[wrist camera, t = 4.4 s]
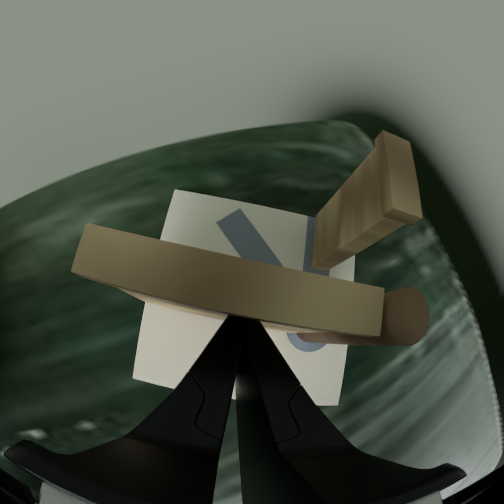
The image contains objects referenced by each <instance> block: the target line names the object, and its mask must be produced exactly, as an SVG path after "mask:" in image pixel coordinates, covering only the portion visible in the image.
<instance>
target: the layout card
mask: <svg viewBox="0 0 504 504" xmlns="http://www.w3.org/2000/svg"><path fill="white" fill-rule="evenodd" d="M314 229H315V217H311V216H305V215H301V214H297V213H292V212H288V211H283V210H279V209H274V208H270V207H265V206H260V205H255V204H251V203H246V202H241V201H236V200H231V199H226V198H220V197H215V196H210V195H204V194H199V193H193V192H187V191H182V190H176V189H175V190H174V194H173V197H172V200H171V203H170V207H169V210H168V214H167V217H166V221H165V224H164V228H163V231H162V235H161V239H160V240H163V241H168V242H172V243H177V244H181V245H186V246H190V247H195V248H199V249H204V250H208V251H213V252H217V253H222V254H226V255H231V256H235V257H240V258H244V259H249V260H254V261H258V262H263V263H267V264H272V265H277V266H281V267H286V268H291V269H295V270H300V271H305V272H309V273H314V274H319V275H324V276H328V277H333V278H338V279H343V280H347V281H352V282H354V266H355V255H354V256H352V257H350V258H348V259H347V260H345V261H343V262H342V263H340V264H338V265H336V266H335V267H333V268H331V269H329V270H327V271H322V270H317V269H311V264H312V253H313V241H314ZM223 321H224V320H219V319H214V318H210V317H205V316H200V315H196V314H192V313H187V312H183V311H179V310H175V309H171V308H167V307H163V306H159V305H155V304H151V303H147V302H145V307H144V312H143V317H142V323H141V328H140V334H139V340H138V346H137V352H136V358H135V365H134V373H133V378H134V379H137V380H141V381H145V382H148V383H152V384H156V385H161V386H165V387H169V388H174V389H175V388H176V386H177V385H178V384H179V383H180V381H181V380H182V379H183V377H184V376H185V375H186V373H187V372H188V371H189V369H190V368H191V367H192V365H193V364H194V362H195V361H196V360H197V358H198V357H199V355H200V354H201V353H202V351H203V350H204V348H205V347H206V345H207V344H208V343H209V341H210V340H211V338H212V337H213V336H214V334H215V333H216V331H217V330H218V329H219V327H220V326H221V324H222V323H223ZM265 330H266V331H267V333H268V334H269V336H270V337H271V339H272V340H273V342H274V343H275V345H276V347H277V348H278V350H279V351H280V353H281V354H282V356H283V357H284V359H285V360H286V362H287V363H288V365H289V366H290V368H291V369H292V371H293V372H294V374H295V375H296V377H297V378H298V380H299V381H300V383H301V385H302V386H303V387H304V389H305V390H306V392H307V393H308V394H309V396H310V397H311V399H312V400H313V401H314V403H315V404H316V405H338V403H339V397H340V392H341V386H342V380H343V374H344V368H345V361H346V354H347V346H348V345H345V344H326V343H311V342H304V341H302V340H301V339H300V338H299V337H298V336H297V334H296V333H289V332H283V331H277V330H271V329H266V328H265ZM232 399H236V392H235V384H234V389H233V394H232Z"/></svg>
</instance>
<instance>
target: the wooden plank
mask: <svg viewBox="0 0 504 504" xmlns="http://www.w3.org/2000/svg"><path fill="white" fill-rule="evenodd" d="M421 219H422V210H421V202H420V195H419V188H418V182H417V176H416V170H415V165H414V160H413V155H412V151H411V146H410V142H409V141H406V140H404V139H402V138H400V137H398V136H395V135H393V134H391V133H388V132H386V131H384V130H382V132H381V133H380V134H379V135H378V136H377V138H376V139H375V147H374V149H373V150H372V151H371V152H370V153H369V155H368V156H367V157H366V158H365V159H364V160H363V162H362V163H361V164H360V165H359V166H358V168H357V169H356V170H355V171H354V172H353V173H352V175H351V176H350V177H349V178H348V179H347V180H346V182H345V183H344V184H343V185H342V186H341V187H340V189H339V190H338V191H337V192H336V193H335V194H334V196H333V197H332V198H331V199H330V200H329V201H328V202H327V204H326V205H325V206H324V207H323V208H322V209H321V210H320V212H319V213H318V214H317V215H316V216H315V229H314V241H313V253H312V264H311V269H317V270H322V271H327V270H329V269H331V268H333V267H335V266H336V265H338V264H340V263H342V262H343V261H345V260H347V259H348V258H350V257H352V256H354V255H355V254H357V253H359V252H360V251H362V250H364V249H366V248H367V247H369V246H371V245H372V244H374V243H376V242H377V241H379V240H380V239H382V238H384V237H385V236H387V235H389V234H390V233H392V232H394V231H395V230H397V229H398V228H400V227H402V226H403V225H405V224H408V225H413V224H414V223H416V222H418V221H419V220H421ZM428 324H429V309H428V305H427V302H426V300H425V298H424V296H423V295H422V294H421V293H420V292H419V291H418V290H417V289H415V288H412V287H405V288H402V289H398V290H395V291H391V292H388V293H384V301H383V313H382V323H381V332H380V336H374V337H365V336H357V335H348V334H340V333H333V332H311V333H296V334H297V336H298V337H299V338H300V339H301V340H302V341H304V342H311V343H326V344H345V345H379V346H407V345H413V344H416V343H417V342H419V341H420V340H421V339H422V337H423V336H424V334H425V333H426V330H427V328H428Z"/></svg>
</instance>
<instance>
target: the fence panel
mask: <svg viewBox="0 0 504 504" xmlns="http://www.w3.org/2000/svg"><path fill="white" fill-rule="evenodd" d="M71 272H73V273H75V274H77V275H79V276H81V277H84V278H87V279H90V280H94V281H97V282H100V283H104V284H107V285H110V286H114V287H117V288H119V289H120V290H122V291H124V292H126V293H128V294H130V295H132V296H134V297H136V298H138V299H140V300H142V301H145V302H147V303H151V304H155V305H159V306H163V307H167V308H171V309H175V310H179V311H183V312H187V313H192V314H196V315H200V316H205V317H210V318H214V319H219V320H225V319H226V317H227V316H228V315H232V316H237V317H242V318H248V319H253V320H258V321H260V322H261V323H262V325H263V326H264V328H266V329H271V330H277V331H283V332H289V333H311V332H333V333H340V334H348V335H357V336H365V337H374V336H380V332H381V323H382V313H383V301H384V288H381V287H376V286H371V285H367V284H362V283H357V282H352V281H347V280H343V279H338V278H333V277H328V276H324V275H319V274H314V273H309V272H305V271H300V270H295V269H291V268H286V267H281V266H277V265H272V264H267V263H263V262H258V261H254V260H249V259H244V258H240V257H235V256H231V255H226V254H222V253H217V252H213V251H208V250H204V249H199V248H195V247H190V246H186V245H181V244H177V243H172V242H168V241H163V240H159V239H154V238H150V237H146V236H141V235H137V234H132V233H128V232H124V231H119V230H115V229H110V228H106V227H102V226H97V225H93V224H89V223H86V226H85V229H84V231H83V234H82V237H81V240H80V243H79V246H78V249H77V253H76V256H75V259H74V262H73V266H72V269H71Z"/></svg>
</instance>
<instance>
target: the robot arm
mask: <svg viewBox="0 0 504 504" xmlns="http://www.w3.org/2000/svg"><path fill="white" fill-rule="evenodd" d="M234 384H235V392H236V411H237V429H238V445H239V460H240V475H241V483H242V484H241V489H242V501H243V504H504V464H502V465H501V466H499V467H498V468H497V469H495V470H494V471H492V472H491V473H489V474H487V475H486V476H484V477H483V478H481V479H480V480H478V481H476V482H475V483H473V484H471V485H469V486H468V487H466V488H464V489H462V490H460V491H459V492H457V493H455V494H453V495H451V496H449V497H447V498H445V499H443V500H442V498H441V495H440V491H441V490H443V489H445V488H447V487H448V486H450V485H452V484H454V483H456V482H457V481H459V480H461V479H462V478H464V477H465V476H467V474H466V473H465V471H464V470H462V469H461V468H459V467H457V466H455V465H452V464H449V463H445V464H442V465H440V466H437V467H435V468H431V469H417V468H412V467H408V466H405V465H401V464H398V463H394V462H391V461H388V460H384V459H381V458H378V457H375V456H372V455H369V454H367V453H364V452H362V451H360V450H359V449H357V448H356V447H354V446H353V445H352V444H351V443H350V442H349V441H348V440H347V439H346V438H345V437H344V436H343V435H342V434H341V433H340V432H339V430H338V429H337V428H336V427H335V426H334V425H333V424H332V423H331V422H330V421H329V419H328V418H327V417H326V416H325V415H324V414H323V412H322V411H321V410H320V409H319V408H318V406H317V405H316V404H315V403H314V401H313V400H312V399H311V397H310V396H309V394H308V393H307V392H306V390H305V389H304V387H303V386H302V385H301V383H300V381H299V380H298V378H297V377H296V375H295V374H294V372H293V371H292V369H291V368H290V366H289V365H288V363H287V362H286V360H285V359H284V357H283V356H282V354H281V353H280V351H279V350H278V348H277V347H276V345H275V343H274V342H273V340H272V339H271V337H270V336H269V334H268V333H267V331H266V330H265V328H264V326H263V325H262V323H261V322H260V321H258V320H253V319H248V318H242V317H237V316H232V315H228V316H227V317H226V319H225V320H224V321H223V323H222V324H221V326H220V327H219V329H218V330H217V331H216V333H215V334H214V336H213V337H212V338H211V340H210V341H209V343H208V344H207V345H206V347H205V348H204V350H203V351H202V353H201V354H200V355H199V357H198V358H197V360H196V361H195V362H194V364H193V365H192V367H191V368H190V369H189V371H188V372H187V373H186V375H185V376H184V377H183V379H182V380H181V381H180V383H179V384H178V385H177V386H176V388H175V389H174V390H173V391H172V392H171V393H170V395H169V396H168V397H167V398H166V399H165V400H164V401H163V402H162V403H161V404H160V405H159V406H158V407H157V408H156V409H155V410H154V411H153V412H152V413H151V414H150V415H149V416H147V417H146V418H145V419H144V420H143V421H142V422H141V423H140V424H139V425H138V426H137V427H136V428H135V429H133V430H132V431H131V432H129V433H128V434H126V435H125V436H123V437H121V438H118V439H116V440H113V441H110V442H108V443H105V444H102V445H100V446H97V447H94V448H91V449H89V450H86V451H83V452H80V453H76V454H71V455H63V454H57V453H54V452H51V451H49V450H47V449H45V448H44V447H42V446H40V445H38V444H36V443H34V442H32V441H29V440H22V441H20V442H18V443H16V444H14V445H12V446H11V447H9V448H8V449H7V450H6V451H5V452H4V456H5V457H6V458H7V459H9V460H10V461H11V462H13V463H14V464H16V465H17V466H18V467H20V468H21V469H23V470H24V471H26V472H27V473H29V474H30V475H32V476H34V477H35V478H37V479H38V480H40V481H42V485H41V488H40V492H39V496H38V500H37V503H36V501H35V499H34V497H33V495H32V493H31V491H30V489H29V487H28V486H27V485H25V484H24V483H22V482H21V481H19V480H18V479H16V478H15V477H13V476H12V475H10V474H9V473H7V472H6V471H4V470H3V469H2V468H0V504H212V503H213V496H214V489H215V482H216V475H217V468H218V461H219V455H220V450H221V445H222V440H223V436H224V431H225V427H226V422H227V417H228V413H229V408H230V403H231V399H232V394H233V389H234Z"/></svg>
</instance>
